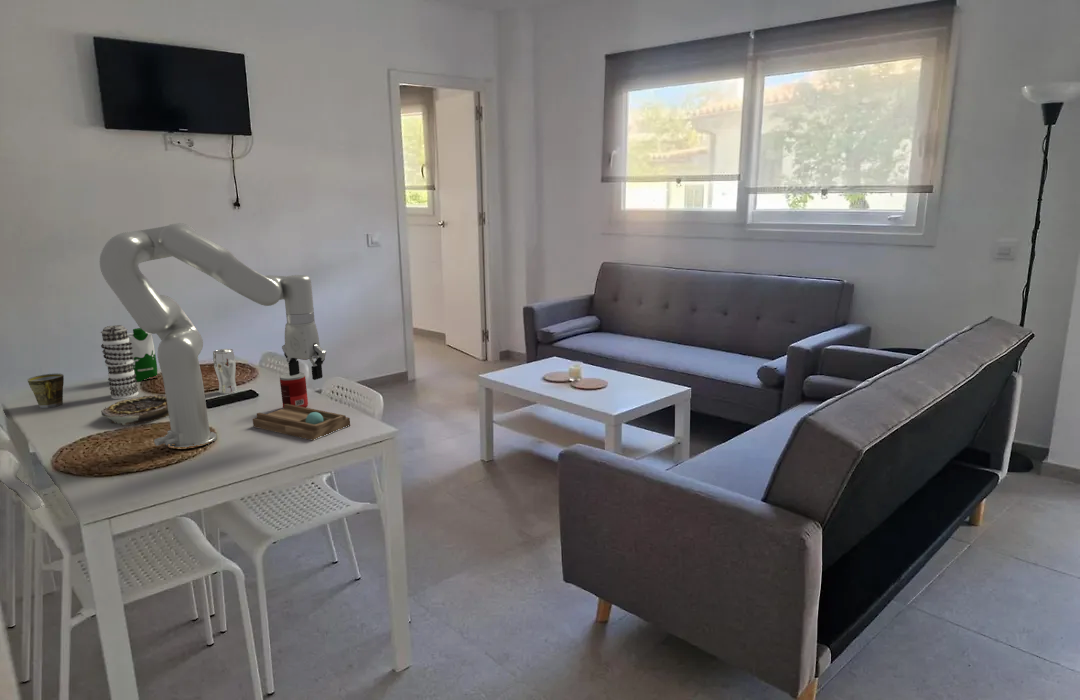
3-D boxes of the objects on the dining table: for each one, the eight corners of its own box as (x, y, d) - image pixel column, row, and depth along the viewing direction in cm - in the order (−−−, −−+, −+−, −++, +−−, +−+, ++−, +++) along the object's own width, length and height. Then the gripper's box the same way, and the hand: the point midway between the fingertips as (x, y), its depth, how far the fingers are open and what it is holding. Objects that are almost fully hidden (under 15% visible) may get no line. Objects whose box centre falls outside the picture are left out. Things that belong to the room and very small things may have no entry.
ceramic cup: (31, 405, 232) (25, 377, 229) (66, 399, 238) (61, 371, 236) (35, 413, 222) (30, 384, 220) (72, 407, 228) (66, 378, 226)
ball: (315, 425, 196) (305, 412, 197) (310, 434, 199) (299, 422, 200) (329, 419, 200) (319, 406, 201) (323, 428, 203) (313, 416, 204)
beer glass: (219, 390, 244) (213, 349, 241) (240, 388, 246) (234, 347, 243) (216, 395, 238) (210, 353, 235) (237, 393, 240) (232, 352, 237)
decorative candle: (119, 400, 234) (107, 329, 229) (104, 397, 239) (92, 327, 233) (145, 393, 242) (134, 325, 237) (130, 390, 247) (119, 323, 241)
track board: (313, 440, 190) (311, 428, 190) (253, 426, 203) (252, 415, 203) (350, 425, 202) (349, 413, 201) (291, 413, 215) (290, 402, 214)
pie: (206, 412, 220) (204, 397, 219) (117, 438, 199) (114, 422, 197) (161, 399, 236) (159, 385, 235) (74, 422, 214) (71, 407, 213)
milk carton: (135, 383, 257) (126, 331, 253) (130, 378, 264) (122, 328, 259) (160, 378, 263) (153, 328, 258) (155, 374, 269) (148, 325, 265)
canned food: (312, 404, 225) (308, 372, 222) (301, 411, 217) (298, 378, 215) (290, 403, 226) (286, 372, 223) (278, 411, 218) (275, 378, 215)
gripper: (269, 318, 194) (275, 376, 198) (311, 323, 186) (316, 383, 189) (290, 314, 201) (296, 370, 204) (332, 319, 192) (336, 377, 196)
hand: (306, 376), depth 197 cm, fingers open, 9 cm apart
